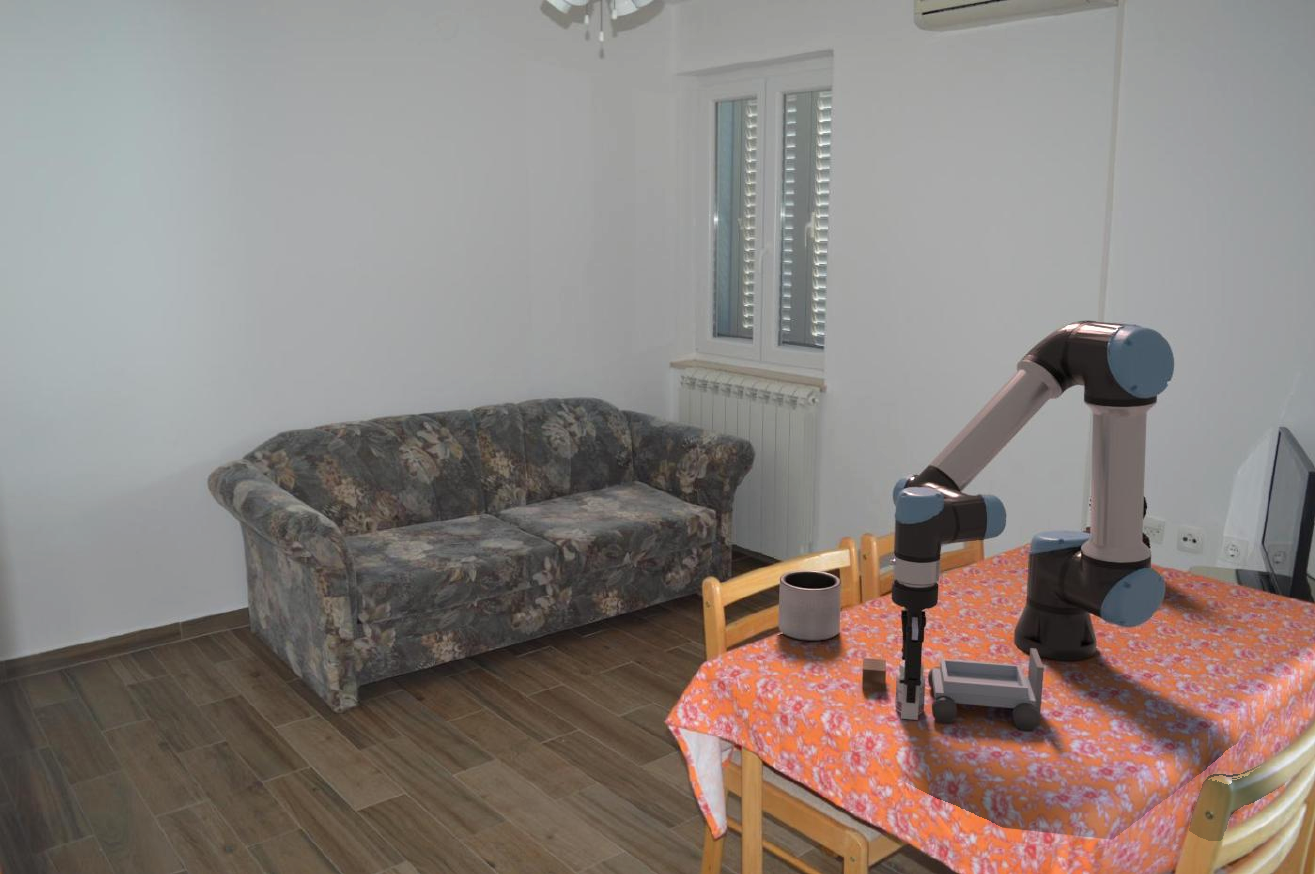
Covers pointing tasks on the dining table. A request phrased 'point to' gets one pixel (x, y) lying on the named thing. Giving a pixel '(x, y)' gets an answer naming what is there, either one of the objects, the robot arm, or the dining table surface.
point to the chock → (874, 674)
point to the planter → (809, 605)
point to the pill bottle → (900, 687)
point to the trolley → (988, 688)
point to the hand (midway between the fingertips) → (908, 707)
